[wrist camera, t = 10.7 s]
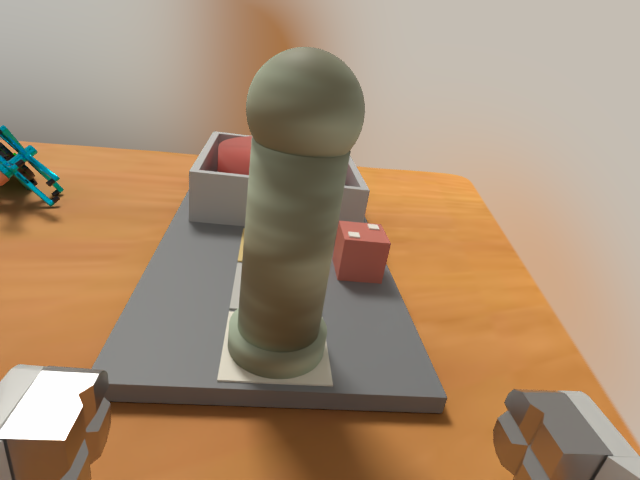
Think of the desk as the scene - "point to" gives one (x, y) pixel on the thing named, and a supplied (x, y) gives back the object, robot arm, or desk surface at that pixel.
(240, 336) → the pawn
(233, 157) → the dome
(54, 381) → the robot arm
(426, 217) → the desk surface
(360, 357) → the game board
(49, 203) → the stick construction toy
